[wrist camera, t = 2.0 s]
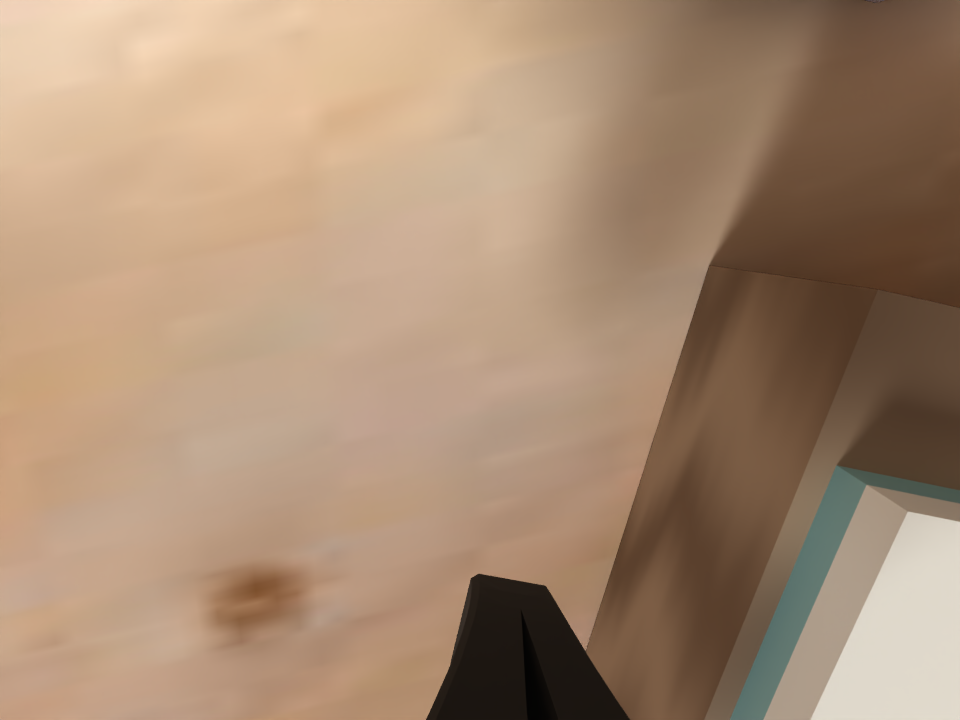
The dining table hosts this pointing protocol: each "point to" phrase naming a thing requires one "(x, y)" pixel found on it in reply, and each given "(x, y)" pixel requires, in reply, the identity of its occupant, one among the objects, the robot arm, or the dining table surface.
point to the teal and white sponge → (867, 610)
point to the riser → (763, 471)
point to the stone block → (875, 1)
